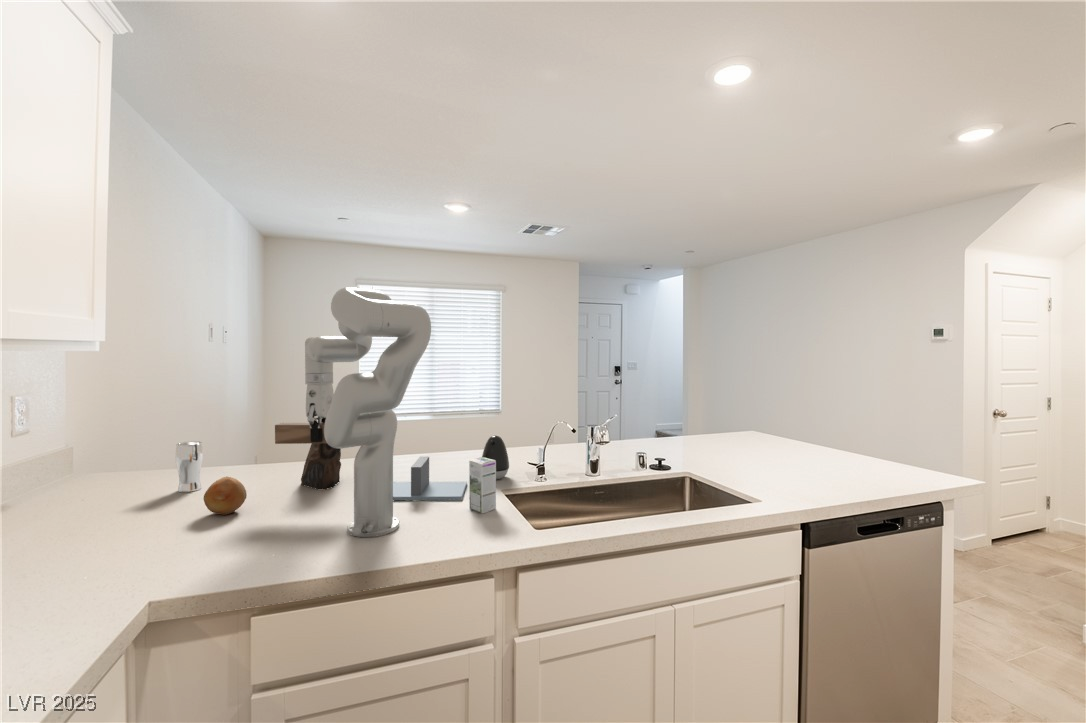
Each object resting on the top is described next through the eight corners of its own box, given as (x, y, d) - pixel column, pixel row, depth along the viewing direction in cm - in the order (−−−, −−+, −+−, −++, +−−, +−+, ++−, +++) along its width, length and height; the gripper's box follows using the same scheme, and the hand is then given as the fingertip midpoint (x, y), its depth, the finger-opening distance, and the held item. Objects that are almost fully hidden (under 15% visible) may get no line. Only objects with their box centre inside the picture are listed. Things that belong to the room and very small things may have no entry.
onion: (199, 513, 133) (199, 477, 133) (240, 504, 141) (240, 471, 140) (208, 522, 127) (208, 485, 126) (251, 513, 134) (250, 477, 134)
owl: (337, 477, 171) (337, 421, 170) (352, 485, 162) (352, 425, 161) (299, 484, 162) (299, 425, 161) (313, 492, 153) (312, 430, 152)
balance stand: (461, 500, 147) (461, 467, 147) (368, 500, 146) (368, 468, 145) (466, 485, 163) (467, 455, 163) (383, 485, 162) (383, 455, 161)
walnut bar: (358, 443, 142) (358, 424, 142) (275, 443, 140) (274, 425, 140) (363, 440, 146) (362, 422, 146) (281, 441, 144) (281, 422, 144)
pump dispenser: (476, 480, 168) (477, 437, 168) (485, 473, 179) (485, 432, 178) (505, 482, 167) (505, 439, 166) (511, 474, 177) (512, 433, 176)
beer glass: (207, 488, 155) (206, 442, 155) (181, 494, 150) (181, 446, 149) (197, 485, 159) (196, 440, 159) (172, 490, 153) (171, 443, 153)
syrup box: (496, 509, 140) (497, 459, 139) (481, 514, 135) (481, 463, 135) (484, 504, 144) (484, 456, 143) (468, 509, 139) (468, 459, 139)
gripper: (320, 380, 134) (321, 446, 135) (342, 377, 151) (342, 435, 152) (293, 380, 134) (293, 446, 135) (318, 377, 151) (318, 435, 151)
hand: (319, 439), depth 143 cm, fingers closed on walnut bar, 4 cm apart
